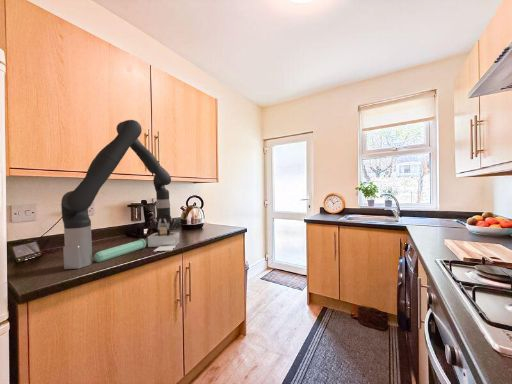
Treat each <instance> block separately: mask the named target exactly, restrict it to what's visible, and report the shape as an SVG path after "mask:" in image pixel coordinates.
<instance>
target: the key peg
mask: <svg viewBox="0 0 512 384" xmlns="http://www.w3.org/2000/svg"><path fill="white" fill-rule="evenodd" d="M162 235H167V226H166V225H165V223H161V224H160V236H162Z"/></svg>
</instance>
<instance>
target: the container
mask: <svg viewBox="0 0 512 384" xmlns="http://www.w3.org/2000/svg"><path fill="white" fill-rule="evenodd" d="M146 247H147V243H146V240H145V239H144V238H139V239H138V240H135V241H131V242H128V243H124V244H121V245H117V246H114V247H111V248H110V247H109V248H106V249H103V250H100V251H97V252H96V253H95V254H94V261H95V262H96V263H101V262H104V261H107V260H111V259H114V258H117V257H121V256H123V255H127V254H130V253H133V252H136V251H138V250H141V249H142V250H143V249H145V248H146Z"/></svg>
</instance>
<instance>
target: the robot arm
mask: <svg viewBox="0 0 512 384" xmlns="http://www.w3.org/2000/svg"><path fill="white" fill-rule="evenodd" d="M142 129H143V128H142V126H141V124H140V123H139V121H137V120H135V119H127V120H124V121H120V122H119V123H118V124H117V125H116V133H117V134H116V136H115V137H114V138H113V139H112V140H111V141H110V142H109V143H108V144H106V145H105V146H104V147H103V148H102V149H101V150H100V151H99V152H98V153H97V154H96V156H95V157H94V158H93V160H92V161H91V162H90V165H89V166H88V169H87V171H86V174H85V176H84V178H83V179H82V181H81V182H80V183H79V184H78V185H77V186H76V187H75V188H74V190H71V191H68V192H66V193H64V195H63V196H62V198H61V203H60V205H61V206H60V207H61V218H62V223H63V233H64V235H63V236H64V246H63V247H62V248H63V249H62V251H63V254H62V255H63V269H64V270H74V269H75V270H77V269H81V268H85V267H88V266H90V265H92V264H93V246H92V242H93V241H92V240H93V239H92V221H91V220H92V219H91V218H90V215H89V208H91V206H92V204H93V202H95V199H96V197H97V195H98V193H99V191H100V190H101V188H102V187H103V186H104V184H105V183H106V182H107V180H108V179H109V178H110V177H111V175H112V174H113V172H115V169H116V168H117V166H118V165H119V164H120V162H121V161H122V159H123V158H124V156H125V155H126V154H127V151H128V150H129V148H130V149H131V150H132V151H133V152H134V153H135V154H136V156H137V157H138V159H140V161H141V162H142V163H143V165H144V166H145V167H146V169H147V170H148V172H149V173H150V174H153V175H154V176H153V179H152V181H153V186H154V189H155V192H156V203H155V205H156V208H155V209H156V217H155V218H152V219H151V220H150V222H151V223H152V225H153V228H154V229H155V230H157V233H158V235H159V236H160V224H161V223H165V225H166V226H167V235H169V234H170V233H171V229H172V228H174V225H175V223H176V220H177V219H176V218H175V217H172V216H171V201H170V191H169V190H168V189H166V186H167V185H169V184H171V182H172V177H171V174H170V173H169V172H168V171H167V170H166V169H165V168H163V166H161V164H160V163H159V161H158V159H157V157H155V155H154V154H153V153H152V152H151V151H150V150H149V149H148V148H146V147H145V145H143V144H142V143H141V142H142V141H140V140H139V137H140V136H141V135H142ZM157 222H158V224H157ZM170 223H171V224H170Z"/></svg>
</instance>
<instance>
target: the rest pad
mask: <svg viewBox="0 0 512 384" xmlns="http://www.w3.org/2000/svg"><path fill="white" fill-rule="evenodd" d="M176 247H177V246H176V245H175V246H159V247H156V248H155V249H154V250H153V251H152V252H153V253H158V252H157V251H165V252H172V251H173V250H174V249H175V248H176ZM173 248H174V249H173Z"/></svg>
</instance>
